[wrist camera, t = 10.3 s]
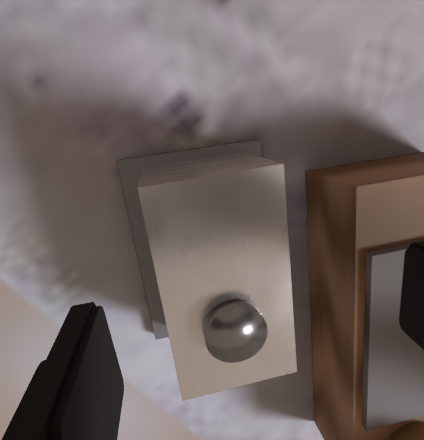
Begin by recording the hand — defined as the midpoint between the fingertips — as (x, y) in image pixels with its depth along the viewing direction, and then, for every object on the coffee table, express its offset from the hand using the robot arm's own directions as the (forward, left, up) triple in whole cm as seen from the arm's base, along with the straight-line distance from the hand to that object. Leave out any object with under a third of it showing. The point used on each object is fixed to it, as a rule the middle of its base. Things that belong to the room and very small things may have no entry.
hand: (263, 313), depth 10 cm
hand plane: (+7, +9, -8) cm, 14 cm away
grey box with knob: (+1, -1, -7) cm, 7 cm away
